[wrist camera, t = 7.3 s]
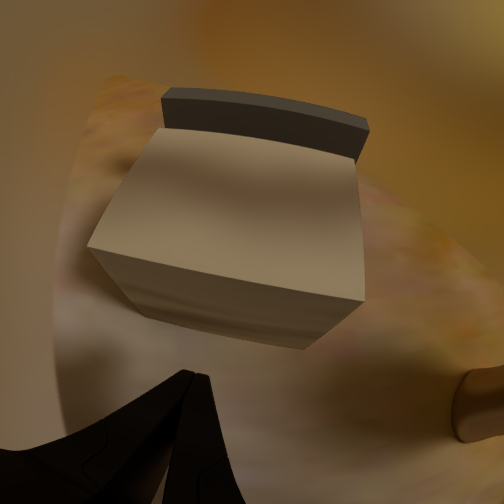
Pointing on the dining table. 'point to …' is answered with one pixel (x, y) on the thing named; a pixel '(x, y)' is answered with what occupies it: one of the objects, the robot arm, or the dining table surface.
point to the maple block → (236, 237)
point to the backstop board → (265, 119)
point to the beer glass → (479, 405)
